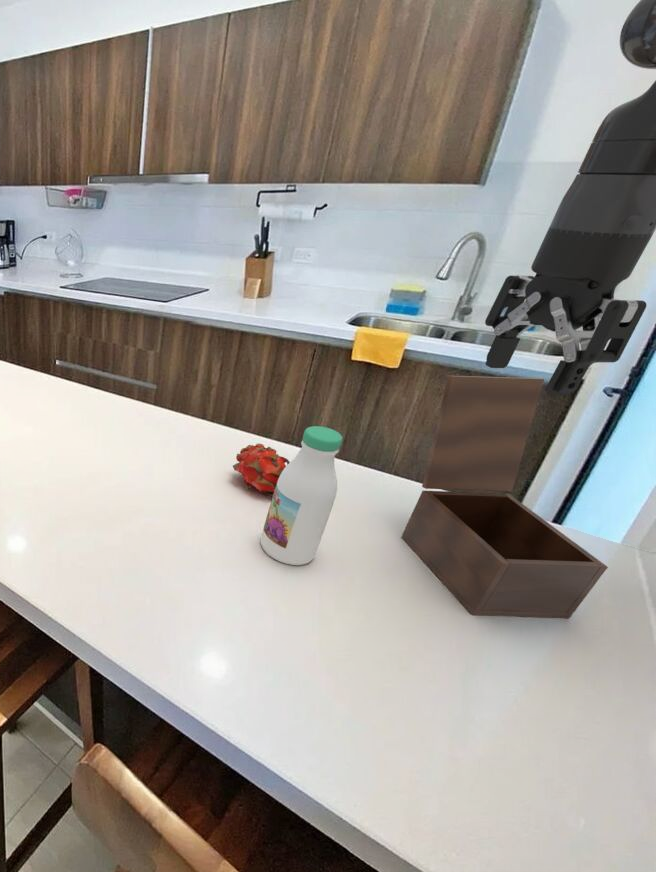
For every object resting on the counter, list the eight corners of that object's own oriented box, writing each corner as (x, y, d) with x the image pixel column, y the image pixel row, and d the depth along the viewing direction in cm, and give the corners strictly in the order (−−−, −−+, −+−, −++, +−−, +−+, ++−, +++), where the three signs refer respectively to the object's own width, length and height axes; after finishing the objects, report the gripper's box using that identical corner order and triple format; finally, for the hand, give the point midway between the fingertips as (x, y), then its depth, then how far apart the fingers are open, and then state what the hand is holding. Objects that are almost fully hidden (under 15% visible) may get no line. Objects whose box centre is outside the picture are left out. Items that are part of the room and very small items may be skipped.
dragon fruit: (228, 476, 96) (285, 513, 89) (216, 468, 89) (276, 506, 82) (255, 440, 95) (314, 474, 88) (244, 428, 88) (307, 464, 81)
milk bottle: (309, 538, 78) (349, 424, 68) (318, 571, 71) (363, 451, 62) (257, 529, 80) (289, 416, 70) (261, 560, 73) (296, 441, 63)
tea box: (569, 618, 65) (608, 567, 61) (471, 615, 65) (502, 563, 61) (482, 539, 79) (508, 493, 74) (400, 536, 79) (422, 490, 74)
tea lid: (544, 379, 69) (539, 378, 70) (452, 376, 69) (447, 375, 70) (512, 491, 74) (507, 489, 74) (425, 488, 74) (421, 486, 75)
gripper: (722, 235, 43) (616, 406, 51) (573, 220, 55) (507, 359, 63) (635, 234, 43) (543, 405, 51) (506, 219, 55) (448, 358, 63)
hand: (523, 379), depth 57 cm, fingers open, 8 cm apart
